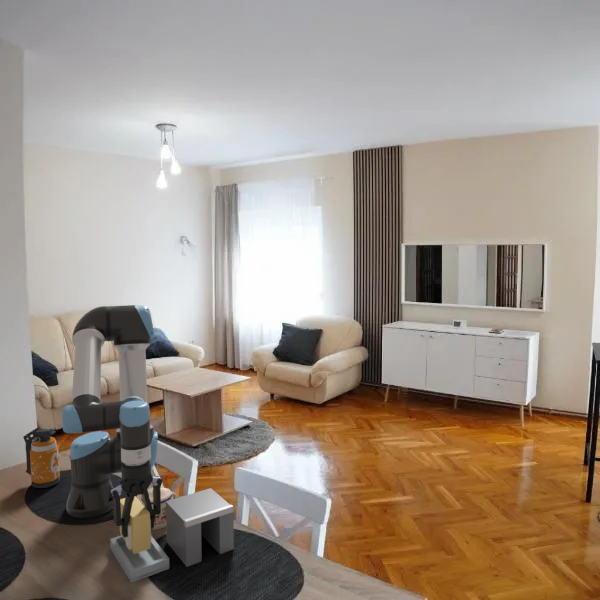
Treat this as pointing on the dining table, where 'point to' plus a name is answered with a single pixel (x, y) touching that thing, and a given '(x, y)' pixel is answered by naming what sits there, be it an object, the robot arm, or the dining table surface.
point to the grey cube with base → (199, 524)
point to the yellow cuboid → (138, 526)
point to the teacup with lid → (165, 496)
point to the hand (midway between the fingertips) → (138, 543)
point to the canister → (42, 458)
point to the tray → (139, 559)
